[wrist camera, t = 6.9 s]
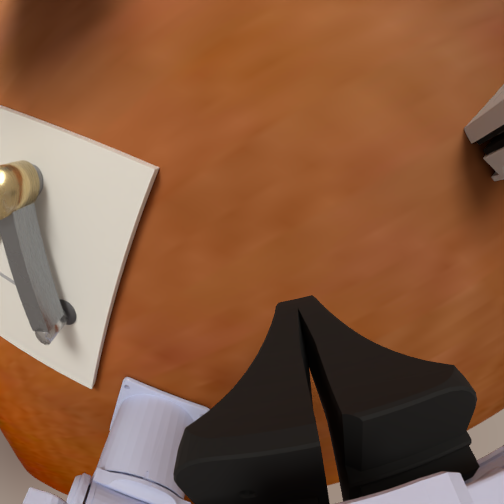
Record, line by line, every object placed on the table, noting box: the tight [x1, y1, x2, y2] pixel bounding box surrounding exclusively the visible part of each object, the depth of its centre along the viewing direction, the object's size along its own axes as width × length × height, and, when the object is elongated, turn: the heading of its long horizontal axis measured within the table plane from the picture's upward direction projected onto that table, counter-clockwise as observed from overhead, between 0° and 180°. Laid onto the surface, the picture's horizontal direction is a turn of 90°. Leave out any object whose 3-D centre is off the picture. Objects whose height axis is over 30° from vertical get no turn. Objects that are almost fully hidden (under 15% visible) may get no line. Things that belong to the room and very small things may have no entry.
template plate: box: [0, 105, 159, 389], centre depth 19 cm, size 20×17×2 cm
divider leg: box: [0, 160, 68, 345], centre depth 17 cm, size 12×3×3 cm, turn 4°
